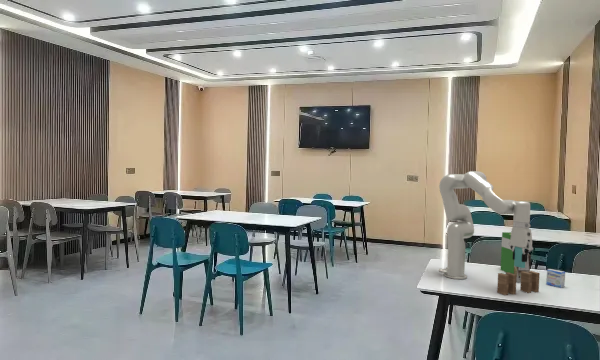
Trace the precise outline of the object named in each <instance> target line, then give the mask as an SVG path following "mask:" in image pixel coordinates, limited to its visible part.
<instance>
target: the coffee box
mask: <svg viewBox="0 0 600 360" xmlns="http://www.w3.org/2000/svg"><path fill="white" fill-rule="evenodd" d="M531 257H532V256H531V254H530V253H529V254H527V262H525V268H520V267H516V266H514V274H516V275H517V280H516V283H518V284H521V272H522V271H524V272H528V273H529V271H531V260H532V259H531Z"/></svg>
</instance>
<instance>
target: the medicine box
mask: <svg viewBox="0 0 600 360" xmlns="http://www.w3.org/2000/svg"><path fill="white" fill-rule="evenodd" d="M545 279H546V281H545V284H546V286H549V287H555V288H560V289H563V288H565V282H566V271H564V270H559V269H553V268H547V270H546V278H545Z"/></svg>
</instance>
